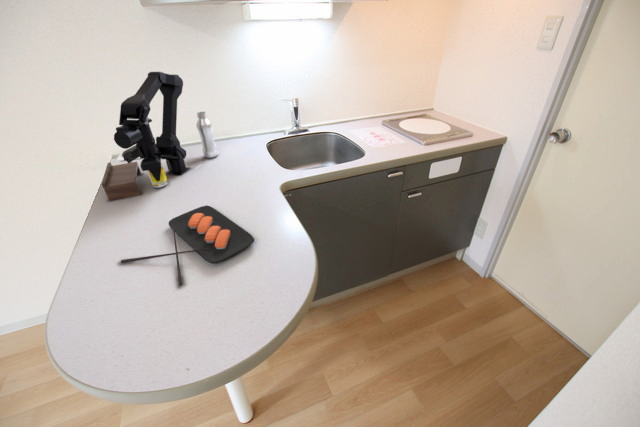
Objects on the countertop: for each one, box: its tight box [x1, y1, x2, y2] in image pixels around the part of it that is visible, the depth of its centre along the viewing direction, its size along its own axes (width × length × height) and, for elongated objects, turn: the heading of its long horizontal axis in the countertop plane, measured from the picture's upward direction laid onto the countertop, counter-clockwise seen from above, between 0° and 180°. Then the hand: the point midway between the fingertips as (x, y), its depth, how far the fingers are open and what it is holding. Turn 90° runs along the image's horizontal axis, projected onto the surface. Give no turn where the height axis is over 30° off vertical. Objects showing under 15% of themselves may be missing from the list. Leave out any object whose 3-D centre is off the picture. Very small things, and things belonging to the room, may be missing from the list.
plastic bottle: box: [196, 111, 219, 158], centre depth 138 cm, size 6×7×20 cm
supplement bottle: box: [146, 165, 169, 189], centre depth 117 cm, size 6×6×10 cm
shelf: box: [101, 161, 143, 202], centre depth 119 cm, size 20×10×7 cm, turn 25°
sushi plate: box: [120, 205, 255, 286], centre depth 87 cm, size 29×30×4 cm
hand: (158, 177), depth 118 cm, fingers closed on supplement bottle, 5 cm apart
